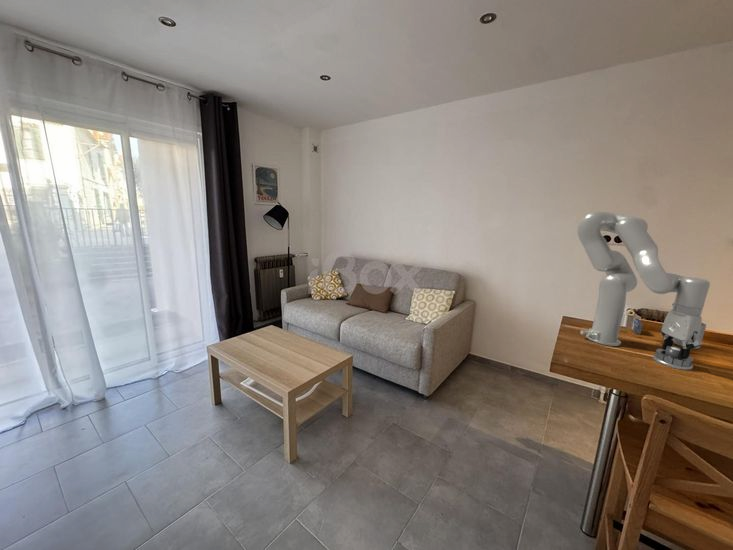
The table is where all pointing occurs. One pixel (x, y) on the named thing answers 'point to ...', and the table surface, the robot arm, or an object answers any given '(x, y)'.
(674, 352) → the cap
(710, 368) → the table surface
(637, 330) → the mini dv tape
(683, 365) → the grey notched ring
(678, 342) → the mug
